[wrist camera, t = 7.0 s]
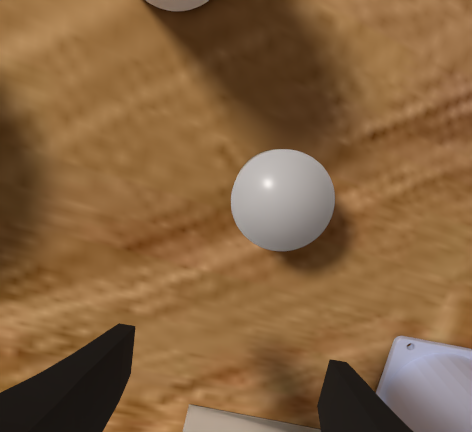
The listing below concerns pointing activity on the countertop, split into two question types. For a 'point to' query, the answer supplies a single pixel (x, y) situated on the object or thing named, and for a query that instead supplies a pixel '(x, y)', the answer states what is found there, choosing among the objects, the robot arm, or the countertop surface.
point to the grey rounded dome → (282, 199)
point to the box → (234, 422)
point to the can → (177, 4)
